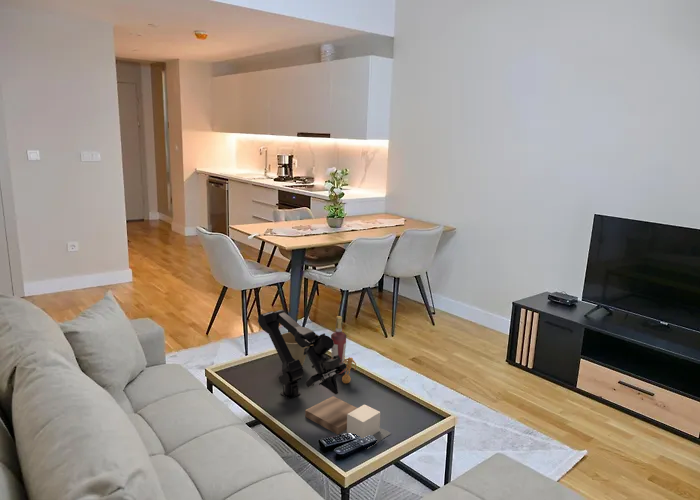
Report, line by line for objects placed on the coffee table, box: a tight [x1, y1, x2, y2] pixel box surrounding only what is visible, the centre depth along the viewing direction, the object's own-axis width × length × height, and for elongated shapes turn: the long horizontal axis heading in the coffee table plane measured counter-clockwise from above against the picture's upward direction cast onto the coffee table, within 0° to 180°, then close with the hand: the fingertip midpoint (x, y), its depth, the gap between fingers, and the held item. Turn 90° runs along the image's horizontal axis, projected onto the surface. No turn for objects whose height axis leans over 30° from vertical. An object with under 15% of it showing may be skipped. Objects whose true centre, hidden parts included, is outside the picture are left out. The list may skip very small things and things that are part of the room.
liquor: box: [330, 315, 347, 375], centre depth 241 cm, size 7×7×28 cm
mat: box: [339, 427, 392, 450], centre depth 195 cm, size 14×14×1 cm
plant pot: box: [281, 331, 307, 366], centre depth 246 cm, size 15×15×16 cm
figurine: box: [341, 357, 357, 384], centre depth 234 cm, size 8×6×12 cm
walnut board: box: [304, 395, 358, 435], centre depth 205 cm, size 18×16×3 cm
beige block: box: [347, 404, 381, 438], centre depth 195 cm, size 8×10×8 cm
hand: (336, 393), depth 202 cm, fingers closed
